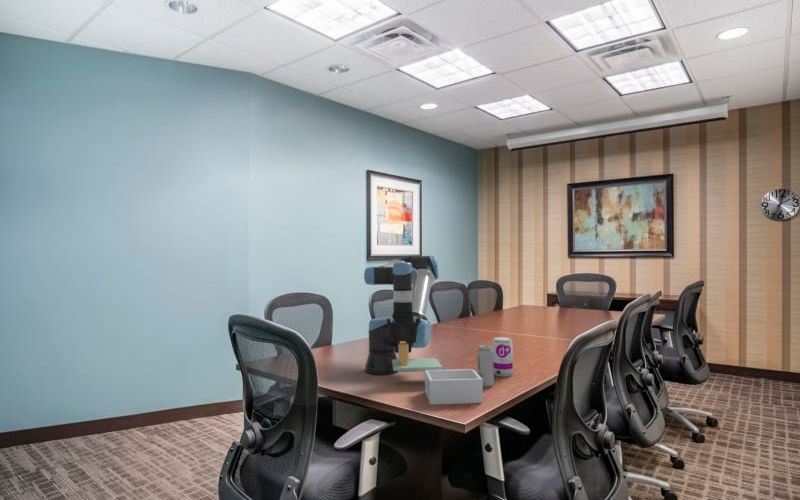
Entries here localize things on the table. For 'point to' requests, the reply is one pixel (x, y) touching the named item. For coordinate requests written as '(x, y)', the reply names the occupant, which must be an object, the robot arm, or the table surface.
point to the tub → (453, 386)
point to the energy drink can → (485, 365)
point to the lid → (413, 362)
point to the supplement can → (502, 356)
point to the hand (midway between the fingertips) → (403, 360)
